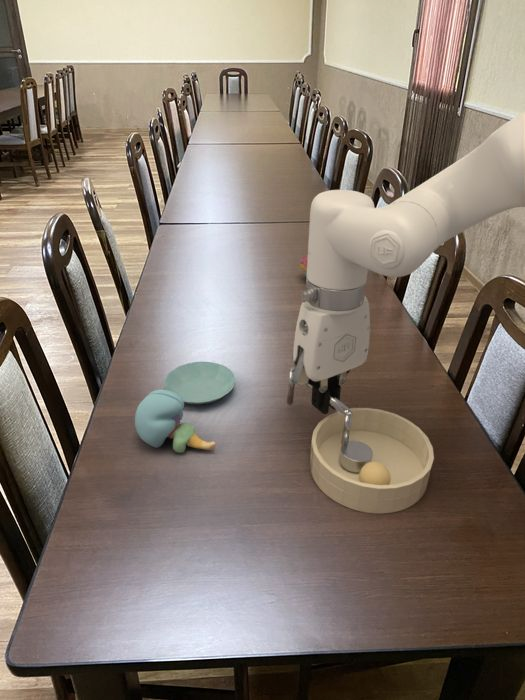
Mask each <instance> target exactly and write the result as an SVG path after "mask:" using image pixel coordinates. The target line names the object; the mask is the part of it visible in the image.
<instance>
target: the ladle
mask: <svg viewBox="0 0 525 700" xmlns="http://www.w3.org/2000/svg"><path fill="white" fill-rule="evenodd" d="M295 369H296V367H295V366H292V367H290V369H289V374H288V385H287V394H286V395H287V396H286V404H287V405H288V406H292V405H293V404H294V398H295V397H294V396H295V387H296V383H295V382H294V381H293V380H292V378H293V375H294V372H295ZM306 387H308V388H309V389H310V390H312V385H310V384H307V385H306ZM329 404H330V405H331V406H333V407H334V408H335V409H336V410H335V411H339V412H340V413H341V414H343V415H344V416H345V422H344V428H343V434H342V440H341V444H342V447H341V451H340V457H339V461H340V464H341V465H342V466H343V467H344V468H345V469H347V470H349V471H351V472H358V473H359V472H360V471H361V469H362V467H363V466H364V465H365V464H367V463H369V462H371V461H372V457H373V451H372V449H371V448H370V447H369V446H368V445H367V444H365V443H363V442H359V441H349V436H350V430H351V424H352V418H353V412H352V411H351V410H350V408H349V407H348V406H347V405H345V404H344V403H343V402H342V401H339V400H338V399H336V398H335V397H334V396H332V395H331V394H330V401H329Z"/></svg>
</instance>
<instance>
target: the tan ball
mask: <svg viewBox="0 0 525 700" xmlns="http://www.w3.org/2000/svg"><path fill="white" fill-rule="evenodd" d="M359 479H360V482H361V483H367V484H374V485H389V484H390V479H391V477H390V472H389V470H388V469H387V467H386V466H385V465H383V464H382V463H379V462H369V463H367V464H365V465H364V466H363V467H362V469H361V471H360V474H359Z"/></svg>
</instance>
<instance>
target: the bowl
mask: <svg viewBox="0 0 525 700" xmlns="http://www.w3.org/2000/svg"><path fill="white" fill-rule="evenodd" d="M349 409H350V410H351V411H352V412H353V418H352V424H351V430H350V436H349V441H359V442H363V443H365V444H367V445H368V446H369V447H370V448H371V449H372V451H373V457H372V461H371V462H379V463H382V464H383V465H385V466H386V467H387V469H388V470H389V472H390V477H391V479H390V484H389V485H374V484H367V483H361V482H360V479H359V474H360V472H359V473H358V472H351V471H349V470H347V469H345V468H344V467H343V466H342V465H341V464H340V461H339V457H340V451H341V447H342V444H341V440H342V434H343V428H344V422H345V416H344V415H343V414H341V413H340V412H339V411H338V410H336V411H335V412H333V413H331V414H329V415H326V416H325V417H324V418H322V419H321V420H320V421H319V422H318V423H317V425H316V426H315V428H314V430H313V431H312V435H311V442H310V453H309V455H310V456H309V466H310V468H309V469H310V474H311V476H312V479H313V480H314V482H315V484H316V486H317V487H318V488H319V489H320V490H321V492H323V494H325V496H327V497H328V498H330V499H331V500H332V501H334V502H336V503H338V504H339V505H341V506H343V507H346V508H348V509H350V510H354V511H357V512H361V513H366V514H367V513H368V514H379V515H381V514H393V513H398V512H401V511H403V510H406V509H408V508H410V507H412V506H414V505H415V504H417V503H418V502H419V501H420V500H421V499H422V497H423V496H424V494H425V493H426V491H427V489H428V485H429V481H430V478H431V474H432V470H433V465H434V461H435V455H434V447H433V445H432V443H431V441H430V439H429V437H428V436H427V434H425V432H424V431H423V430H422V429H421V428H420V427H419V426H417V425H416V424H415V423H413V422H412V421H410V420H409V419H407V418H405V417H403V416H400V415H399V414H396V413H395V412H391V411H387V410H383V409H379V408H373V407H350V408H349Z"/></svg>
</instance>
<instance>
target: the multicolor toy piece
mask: <svg viewBox="0 0 525 700" xmlns="http://www.w3.org/2000/svg"><path fill="white" fill-rule="evenodd" d="M184 409H185V402H184V401H183V399H182V397H181V396H180V395H178V394H177V393H175V392H172V391H169V390H165V389H163V388H161V389H160V388H159V389H155V390H153V391H151V392H149V393H148V395H146V396H145V397H144V398H143V400H141V402H140V403H139V405H138V406H137V408H136V411H135V414H134V426H135V430H136V433H137V435H138V437H139V438H140V439H141V440H142V441H143V442H144V443H146V444H148V446H152V447H153V448H160V447H161V446H163V444H164V443H165V440H166V439H167V438H169V439H173V440H172V448H173V450H174V452H176V453H178V454H182V453H183V454H184V452H185V451H186V448H187V447H191V448H194V449H198V450H205V451H213V450H214V449H215V448H216V442H215V441H211V442H209V441H205V440H204V439H202V438H200V437H199V436H198V435H197V434H196V428H195V426H194V425H193V424H190V423H186V422H181V420H183V417H184Z"/></svg>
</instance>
